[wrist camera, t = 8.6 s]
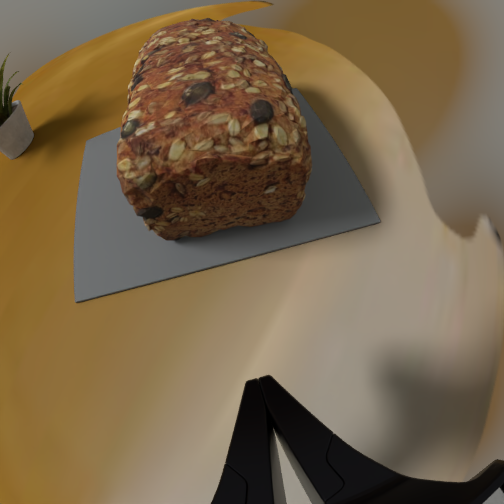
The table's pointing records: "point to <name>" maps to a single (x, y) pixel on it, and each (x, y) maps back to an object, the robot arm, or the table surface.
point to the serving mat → (210, 246)
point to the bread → (211, 133)
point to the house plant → (13, 123)
